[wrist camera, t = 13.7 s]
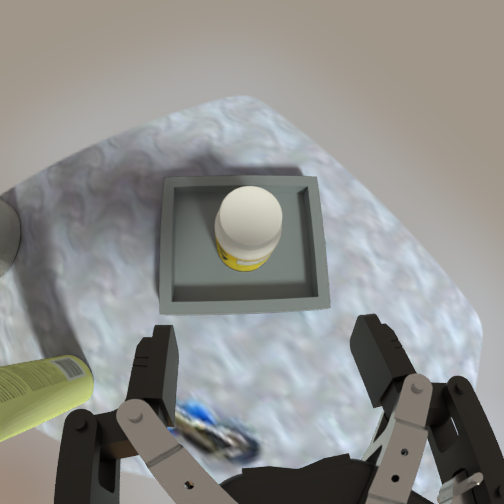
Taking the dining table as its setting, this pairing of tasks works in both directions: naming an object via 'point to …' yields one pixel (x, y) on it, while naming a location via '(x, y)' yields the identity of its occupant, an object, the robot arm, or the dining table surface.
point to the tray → (219, 275)
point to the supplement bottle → (247, 228)
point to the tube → (41, 391)
